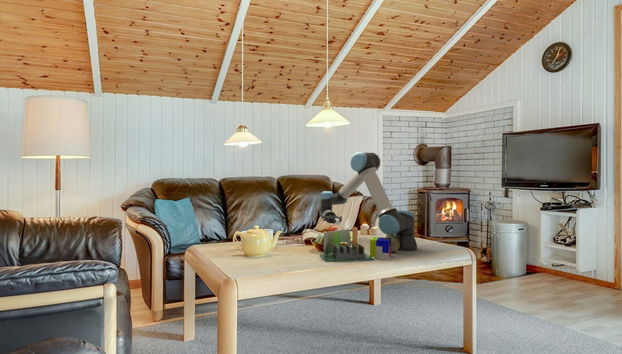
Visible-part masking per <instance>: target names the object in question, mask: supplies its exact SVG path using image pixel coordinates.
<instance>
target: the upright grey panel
mask: <svg viewBox="0 0 622 354" xmlns="http://www.w3.org/2000/svg"><path fill="white" fill-rule="evenodd" d="M350 234H351V228H345V229H337V230H331V231H330V230H329V231H323V254H333V245H336V246H337V247H339V252H340V243H341V242H348V245H349V246H351V245H350V244H351V235H350ZM345 248H346V247H345Z"/></svg>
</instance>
